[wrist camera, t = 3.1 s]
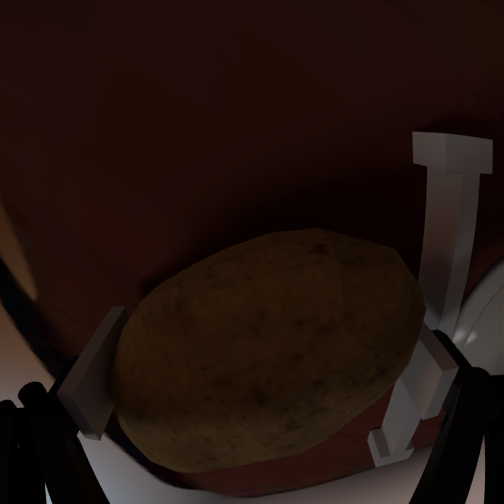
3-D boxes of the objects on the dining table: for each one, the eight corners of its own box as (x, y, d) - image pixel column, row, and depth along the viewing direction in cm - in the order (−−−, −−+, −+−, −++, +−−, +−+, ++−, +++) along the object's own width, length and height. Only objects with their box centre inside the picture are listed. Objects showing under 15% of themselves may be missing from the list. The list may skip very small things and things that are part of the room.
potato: (403, 299, 16) (475, 394, 9) (212, 405, 19) (201, 508, 12) (320, 149, 13) (402, 169, 6) (105, 305, 16) (39, 404, 9)
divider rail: (412, 131, 13) (445, 133, 10) (456, 136, 13) (492, 140, 10) (367, 440, 21) (375, 467, 18) (398, 432, 21) (408, 457, 18)
